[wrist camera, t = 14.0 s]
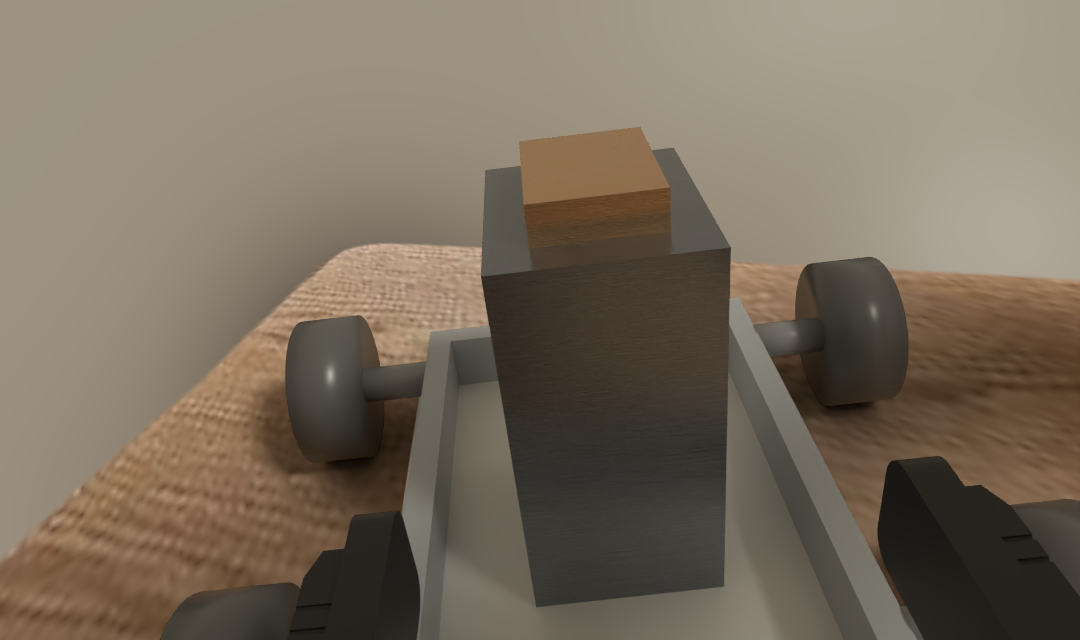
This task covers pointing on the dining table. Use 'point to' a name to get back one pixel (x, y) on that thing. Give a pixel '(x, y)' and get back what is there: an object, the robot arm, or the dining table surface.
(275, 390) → the dining table surface
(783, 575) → the chassis
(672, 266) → the tall block with cap
